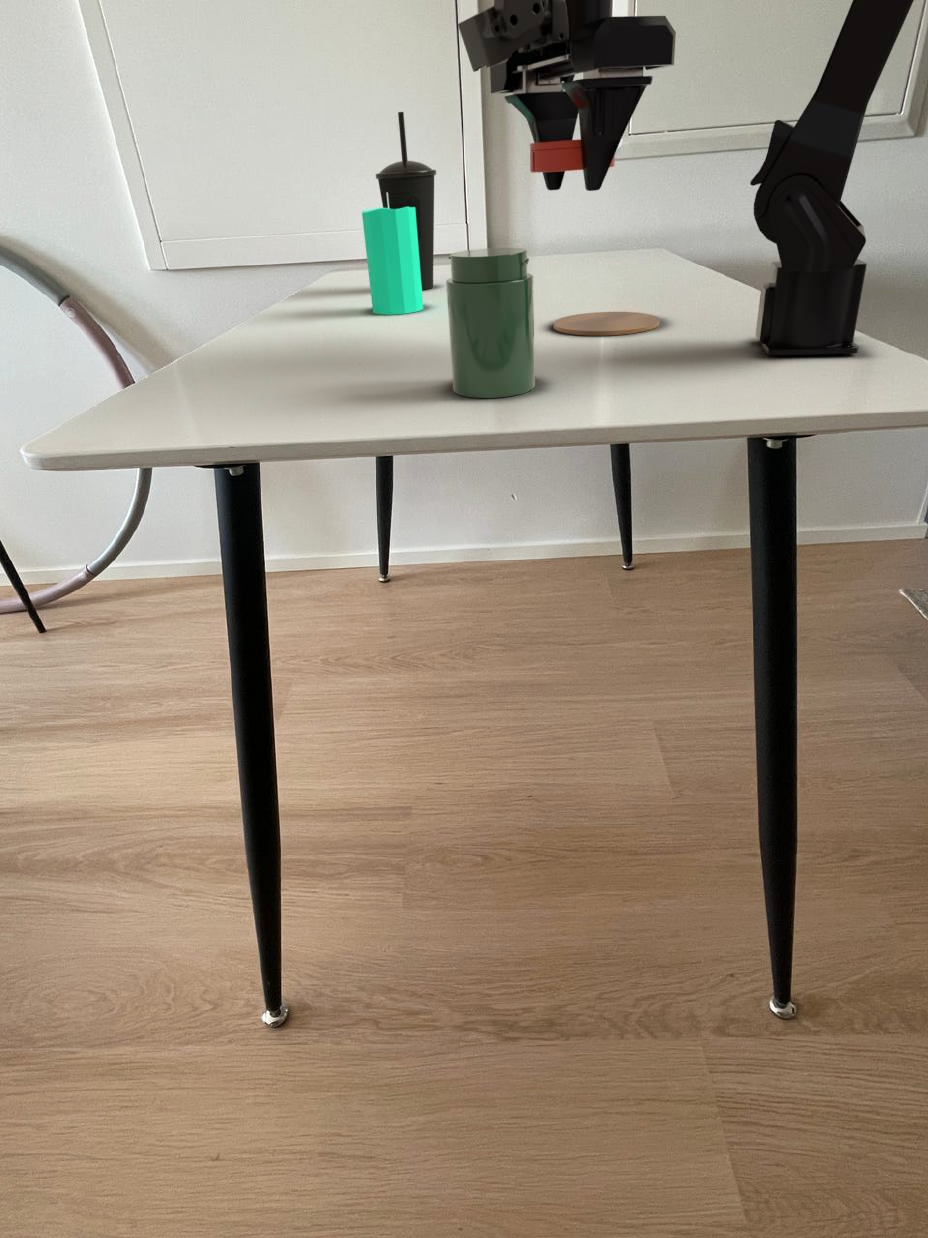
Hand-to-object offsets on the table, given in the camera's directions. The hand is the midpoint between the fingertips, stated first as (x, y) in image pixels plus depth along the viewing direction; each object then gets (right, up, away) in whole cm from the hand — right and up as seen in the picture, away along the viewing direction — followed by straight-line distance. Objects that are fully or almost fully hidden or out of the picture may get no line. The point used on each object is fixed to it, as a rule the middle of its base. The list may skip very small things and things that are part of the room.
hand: (572, 190), depth 64 cm
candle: (-16, +1, +28) cm, 32 cm away
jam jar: (-7, -18, -6) cm, 20 cm away
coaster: (+5, -6, +12) cm, 15 cm away
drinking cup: (-15, +10, +42) cm, 46 cm away
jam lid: (0, +3, -2) cm, 3 cm away
